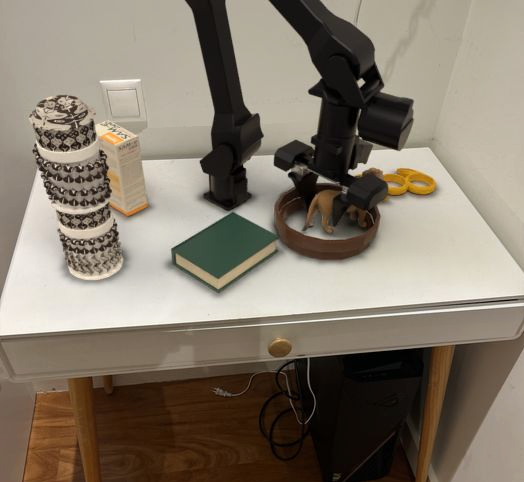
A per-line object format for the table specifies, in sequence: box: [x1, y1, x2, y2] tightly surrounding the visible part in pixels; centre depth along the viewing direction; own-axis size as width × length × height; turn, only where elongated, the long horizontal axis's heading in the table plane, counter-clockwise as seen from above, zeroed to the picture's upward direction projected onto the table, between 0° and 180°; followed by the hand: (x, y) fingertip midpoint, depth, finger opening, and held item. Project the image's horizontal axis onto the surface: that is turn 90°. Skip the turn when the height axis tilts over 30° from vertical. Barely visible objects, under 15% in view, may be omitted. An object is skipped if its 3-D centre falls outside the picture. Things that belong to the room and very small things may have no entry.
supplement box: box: [95, 119, 149, 217], centre depth 95 cm, size 8×5×13 cm, turn 47°
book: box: [170, 211, 280, 294], centre depth 89 cm, size 10×14×3 cm
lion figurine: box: [301, 167, 384, 234], centre depth 94 cm, size 15×5×9 cm, turn 113°
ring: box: [273, 182, 382, 261], centre depth 95 cm, size 17×17×4 cm
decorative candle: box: [28, 94, 124, 281], centre depth 79 cm, size 9×9×25 cm
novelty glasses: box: [354, 167, 437, 202], centre depth 106 cm, size 17×2×10 cm
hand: (321, 219), depth 95 cm, fingers closed on lion figurine, 5 cm apart
